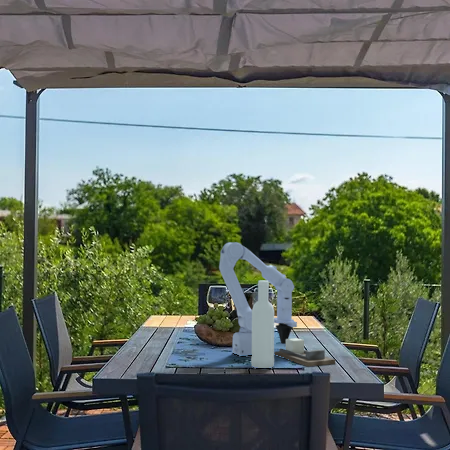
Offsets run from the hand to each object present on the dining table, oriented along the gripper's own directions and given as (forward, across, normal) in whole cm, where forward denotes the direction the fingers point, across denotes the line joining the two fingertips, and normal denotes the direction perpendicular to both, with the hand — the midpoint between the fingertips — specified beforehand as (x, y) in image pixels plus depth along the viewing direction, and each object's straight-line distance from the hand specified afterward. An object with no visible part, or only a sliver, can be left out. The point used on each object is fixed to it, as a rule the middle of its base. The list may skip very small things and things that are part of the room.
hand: (284, 343), depth 232 cm
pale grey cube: (+2, -7, 0) cm, 8 cm away
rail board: (+4, -13, 0) cm, 14 cm away
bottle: (+4, -18, +21) cm, 28 cm away
